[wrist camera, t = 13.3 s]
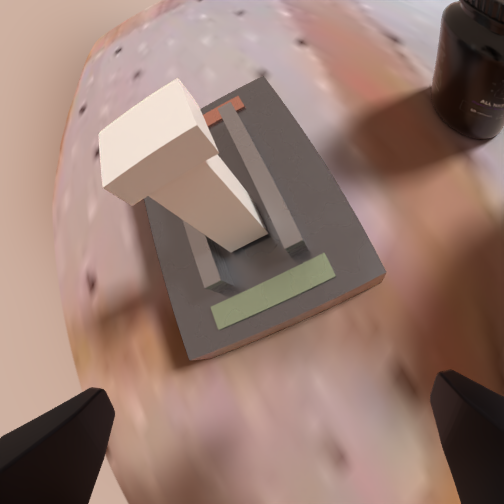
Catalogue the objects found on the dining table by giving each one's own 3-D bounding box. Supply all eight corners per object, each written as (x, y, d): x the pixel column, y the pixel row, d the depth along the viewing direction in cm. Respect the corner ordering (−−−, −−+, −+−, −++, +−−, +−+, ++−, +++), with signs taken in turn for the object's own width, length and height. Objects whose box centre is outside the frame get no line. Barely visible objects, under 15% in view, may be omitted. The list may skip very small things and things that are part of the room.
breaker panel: (381, 281, 18) (390, 264, 13) (211, 358, 20) (172, 362, 15) (273, 100, 24) (256, 60, 20) (154, 167, 26) (121, 140, 22)
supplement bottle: (480, 158, 17) (533, 34, 6) (414, 102, 20) (421, -28, 9) (514, 117, 17) (555, 11, 6) (454, 70, 19) (468, -40, 8)
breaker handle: (279, 231, 17) (197, 124, 8) (222, 260, 18) (102, 187, 9) (260, 192, 18) (177, 77, 9) (208, 220, 19) (98, 132, 10)
